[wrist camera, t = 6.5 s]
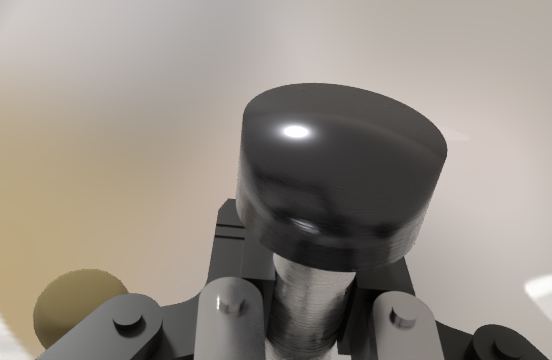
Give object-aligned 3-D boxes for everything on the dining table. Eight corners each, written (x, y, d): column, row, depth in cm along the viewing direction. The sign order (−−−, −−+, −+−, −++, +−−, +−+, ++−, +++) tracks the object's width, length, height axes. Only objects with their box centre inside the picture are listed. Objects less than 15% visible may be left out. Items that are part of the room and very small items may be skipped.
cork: (161, 385, 35) (159, 274, 29) (107, 466, 30) (90, 355, 24) (90, 352, 36) (73, 240, 30) (28, 425, 32) (-8, 310, 26)
